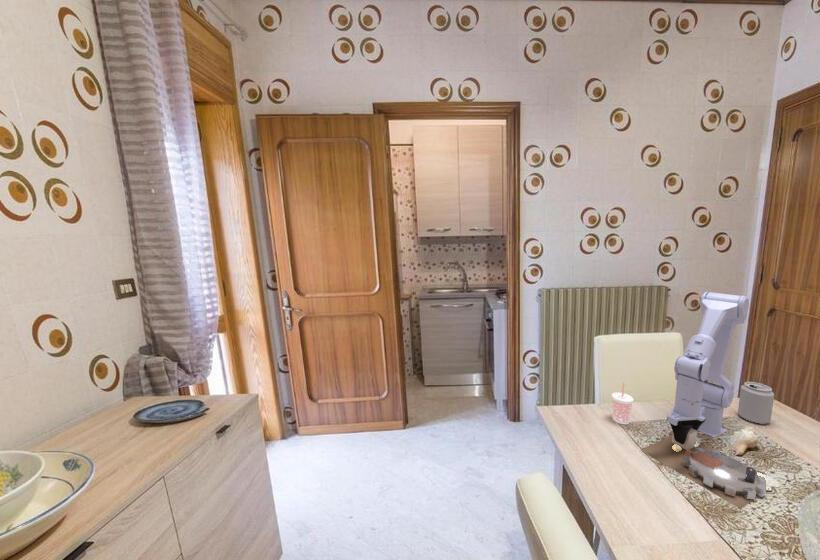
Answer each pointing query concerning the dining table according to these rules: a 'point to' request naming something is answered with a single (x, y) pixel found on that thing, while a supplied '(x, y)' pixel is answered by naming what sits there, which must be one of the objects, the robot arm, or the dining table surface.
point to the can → (756, 402)
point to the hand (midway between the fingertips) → (683, 439)
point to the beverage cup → (622, 407)
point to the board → (675, 461)
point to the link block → (687, 440)
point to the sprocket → (725, 473)
